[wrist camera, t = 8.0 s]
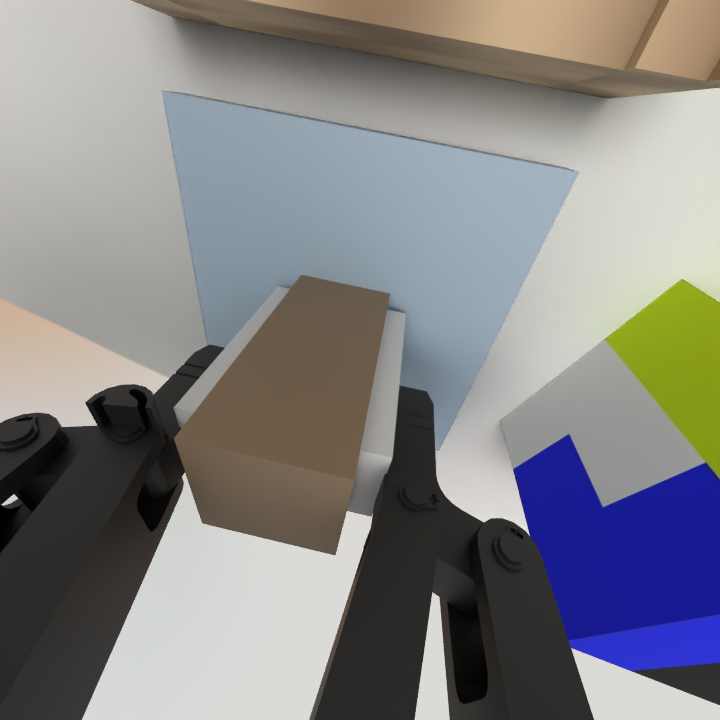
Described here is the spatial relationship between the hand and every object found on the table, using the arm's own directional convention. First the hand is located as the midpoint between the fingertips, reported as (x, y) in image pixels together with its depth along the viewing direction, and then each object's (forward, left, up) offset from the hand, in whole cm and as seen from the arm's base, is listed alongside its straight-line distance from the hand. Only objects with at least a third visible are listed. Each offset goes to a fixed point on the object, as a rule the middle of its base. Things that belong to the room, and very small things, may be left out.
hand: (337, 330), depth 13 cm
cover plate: (0, 0, -2) cm, 2 cm away
